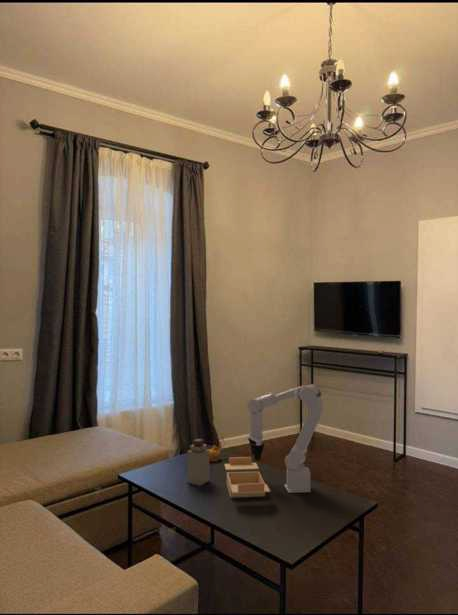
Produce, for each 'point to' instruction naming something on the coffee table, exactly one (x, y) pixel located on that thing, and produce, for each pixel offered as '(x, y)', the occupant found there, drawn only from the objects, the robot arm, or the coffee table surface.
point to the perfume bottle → (198, 463)
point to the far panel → (240, 463)
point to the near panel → (249, 488)
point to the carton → (244, 482)
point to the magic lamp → (215, 451)
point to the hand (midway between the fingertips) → (255, 457)
